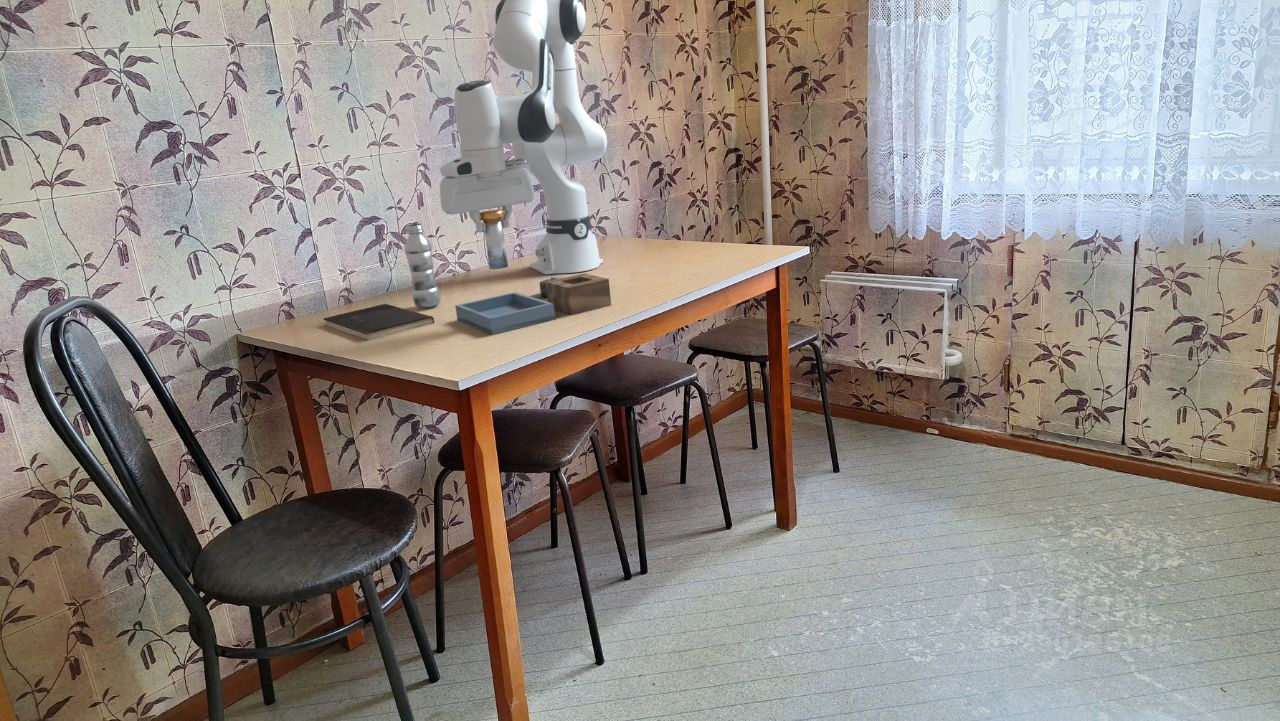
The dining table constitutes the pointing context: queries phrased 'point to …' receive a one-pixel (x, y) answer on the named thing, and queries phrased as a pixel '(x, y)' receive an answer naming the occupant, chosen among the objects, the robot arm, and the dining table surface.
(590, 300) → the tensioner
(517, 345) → the dining table surface
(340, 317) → the hardcover book
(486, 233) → the pin
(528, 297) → the tray
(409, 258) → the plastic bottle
